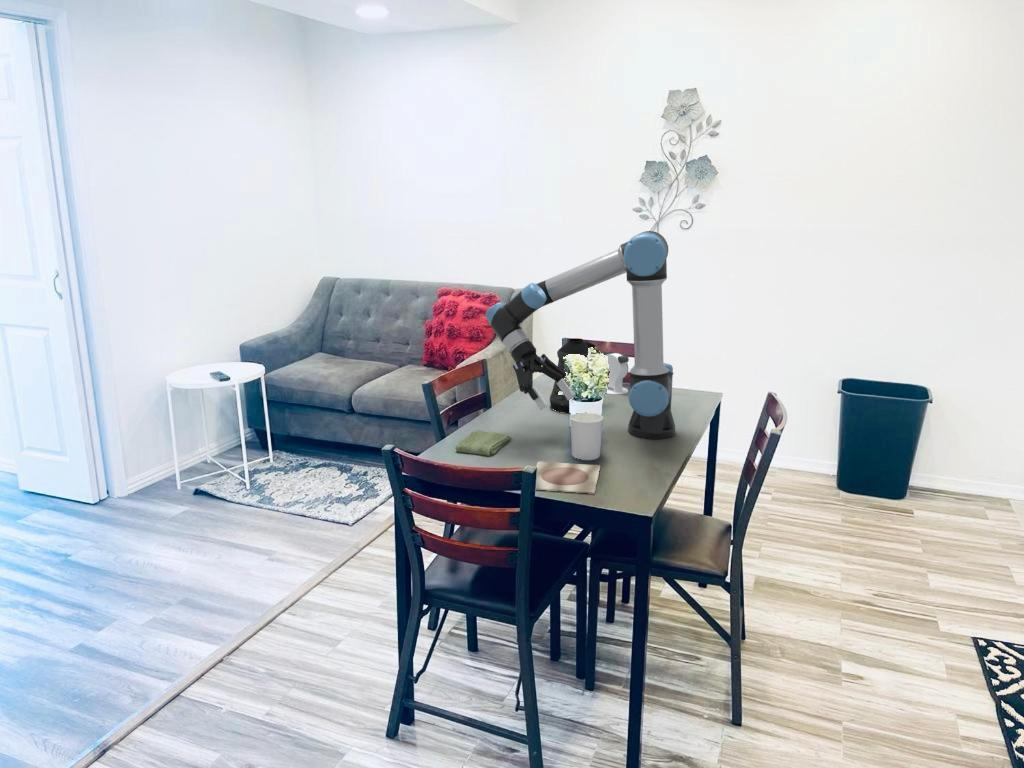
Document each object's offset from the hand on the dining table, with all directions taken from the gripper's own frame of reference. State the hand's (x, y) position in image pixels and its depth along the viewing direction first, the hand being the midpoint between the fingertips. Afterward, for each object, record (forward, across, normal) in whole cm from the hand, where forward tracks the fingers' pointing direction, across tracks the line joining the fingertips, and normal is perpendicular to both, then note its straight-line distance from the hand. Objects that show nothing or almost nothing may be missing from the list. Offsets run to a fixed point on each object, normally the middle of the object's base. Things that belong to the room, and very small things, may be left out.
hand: (558, 402), depth 228 cm
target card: (+22, +18, +2) cm, 29 cm away
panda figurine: (-6, -67, -27) cm, 73 cm away
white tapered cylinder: (+18, 0, -3) cm, 18 cm away
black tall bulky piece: (-6, -40, -26) cm, 48 cm away
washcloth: (-3, +13, -24) cm, 28 cm away
